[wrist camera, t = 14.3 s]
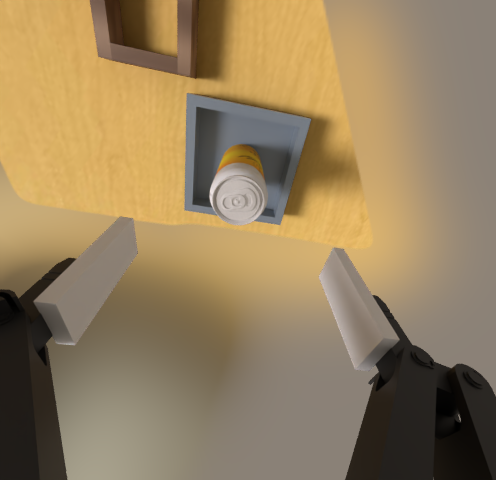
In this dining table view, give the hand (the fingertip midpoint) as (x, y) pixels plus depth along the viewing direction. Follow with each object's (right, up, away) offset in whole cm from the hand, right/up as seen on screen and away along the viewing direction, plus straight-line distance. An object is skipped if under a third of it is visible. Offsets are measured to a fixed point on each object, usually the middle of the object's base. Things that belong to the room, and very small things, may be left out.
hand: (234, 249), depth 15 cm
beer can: (0, +13, +20) cm, 24 cm away
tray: (0, +13, +21) cm, 24 cm away
